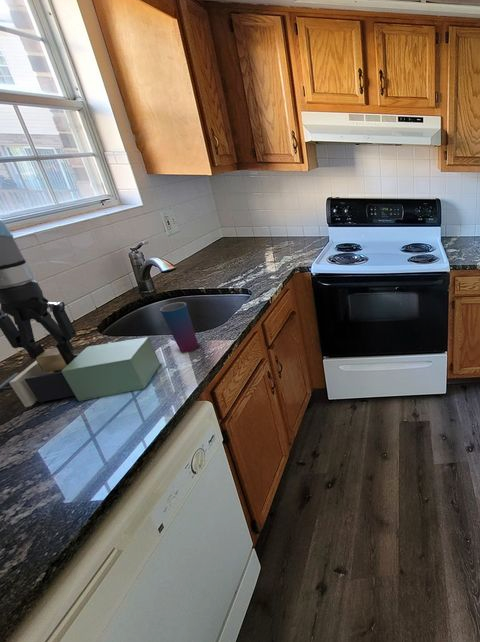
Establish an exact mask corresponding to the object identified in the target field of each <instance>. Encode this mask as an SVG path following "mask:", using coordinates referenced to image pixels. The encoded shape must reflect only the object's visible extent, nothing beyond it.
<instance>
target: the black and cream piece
mask: <svg viewBox="0 0 480 642" xmlns="http://www.w3.org/2000/svg"><path fill="white" fill-rule="evenodd" d="M79 354H80V353H75V354H74V353H73V355H74V357H75V358H76V357H77V356H78V355H79ZM61 371H62V370H57V371H51V372H44V371H42V369H41V367H40V366H39V364H38V362H37V361H36V360H35V361H34V362H32V363H31V364H30V365H28V366H27V367H26V368H25V369H23V370H21V371H20V372H15V373H13V374H11V375H10V376H9V377H8V378H6V379H5V380H4V381H2V382H1V383H0V394H2V393H3V392H5V391H10V390H13V391H14V393H15V394H16V395H17V397H18V398H19V400H20V402H21V403H22V405H23V406H24V407H25V408H28V407H29V408H30V407H32V406H33V405H34V404H35V403H36V402H37V401H38V403H42V402H48V401H52V400H53V401H54V400H57V399H58V400H59V399H64V398H69V397H74V396H75V394H74V392H73V391H72V389H71V387H70V386H69V384H68V382H67V380H66V379H65V377H64V375H63V373H62V372H61Z"/></svg>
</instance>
